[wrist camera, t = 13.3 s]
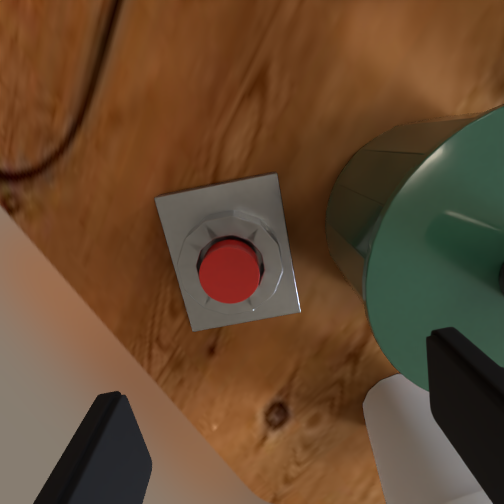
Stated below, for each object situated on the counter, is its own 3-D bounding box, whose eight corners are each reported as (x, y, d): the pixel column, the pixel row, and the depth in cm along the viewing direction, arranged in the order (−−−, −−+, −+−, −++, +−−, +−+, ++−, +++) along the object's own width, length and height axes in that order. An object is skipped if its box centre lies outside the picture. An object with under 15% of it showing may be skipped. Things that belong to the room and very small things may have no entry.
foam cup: (338, 446, 30) (404, 664, 17) (349, 357, 27) (438, 543, 14) (444, 446, 30) (585, 662, 17) (467, 358, 27) (654, 541, 15)
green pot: (313, 142, 22) (361, 143, 13) (512, 101, 21) (713, 71, 12) (336, 313, 25) (385, 407, 16) (504, 283, 25) (650, 363, 16)
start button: (196, 244, 21) (192, 253, 19) (253, 234, 21) (253, 241, 19) (209, 296, 22) (206, 308, 20) (263, 286, 22) (265, 298, 20)
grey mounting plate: (158, 194, 22) (145, 202, 20) (275, 171, 22) (279, 175, 19) (195, 323, 26) (188, 346, 23) (298, 304, 25) (305, 325, 22)
